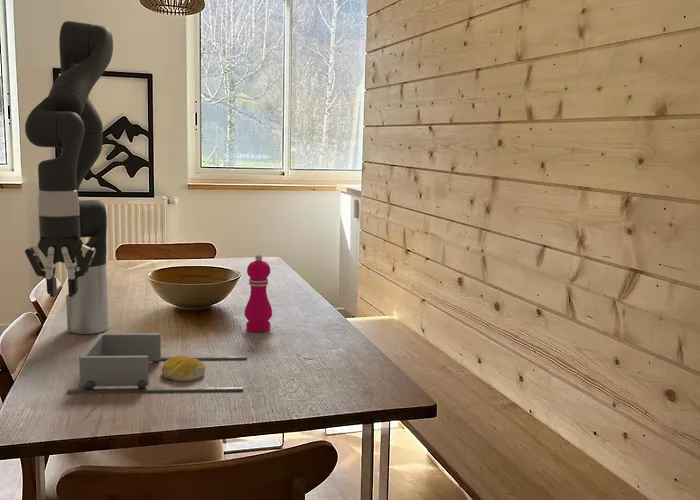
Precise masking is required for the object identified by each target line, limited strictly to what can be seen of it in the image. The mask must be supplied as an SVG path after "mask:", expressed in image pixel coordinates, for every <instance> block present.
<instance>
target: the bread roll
mask: <svg viewBox="0 0 700 500" xmlns="http://www.w3.org/2000/svg"><path fill="white" fill-rule="evenodd" d="M171 357H172V358H170V359H168V360H165V362H164V363H163V365H162V368H161V371H162V372H161V373H162V377H164V379H166V380H167V379H168V380H172V381H174V382H181V383H182V382H184V383H185V382H190V381H191V382H192V381H194V380H198V379H200V378H202V377H203V376H204V375H205V372H206V366H205V364H204V363H203V362H202V360H197V359H195V358H188V357H186V356H185V355H176V356H171Z"/></svg>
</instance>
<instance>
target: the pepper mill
mask: <svg viewBox="0 0 700 500" xmlns="http://www.w3.org/2000/svg"><path fill="white" fill-rule="evenodd" d="M254 259H255V260H253V261H251V262H250V263H249V264H248V266H247V269H246V273H247V275H248V277H249V279H248V284H249V286H250V293H249V294H250V295H249V299H248V301H247V303H246V305H245V309H244V317H245V319H246V320H248V321H246V325H245V326H246V327H245V328H246V330H247V331H248V332H250V333H265V332H269V331H270V330H271V321H270V319H271V318H272V316H273V309H272V305H271V303H270V301H269V298H268V294H267V286H268V285H269V279H268V277H269V276H270V275H271V267H270V265H269V263H268V262H266V261H264V260H263V256H262V255H261V254H256V255H255V257H254Z"/></svg>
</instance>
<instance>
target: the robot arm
mask: <svg viewBox="0 0 700 500" xmlns="http://www.w3.org/2000/svg"><path fill="white" fill-rule="evenodd" d="M58 39H59V41H58V43H59V62H60V65H59V67H60V75H59V76H57V78H56V79H55V81H54V83H53V84H52V86H51V88H50V92H49V94H48V95H47V97H45V98H44V99H42V100H41V101H40V102H39V103H38V104H37V105H36V106H35V107H34V108H33V109H32V110H31V111H30V113H29V114H28V116H27V118H26V121H25V124H24V125H25V126H24V132H25V135H26V138H27V140H28V141H29V143H30V144H33V145H34V146H36V147H40V148H60V155H59V156H58V157H55V158H49V159H46V160H41V161H40V162H39V163H38V166H37V177H38V197H37V198H38V201H37V202H38V224H39V240H38V242H37V245H35V246H30V247H28V248H25V250H24V253H25V255H26V257H27V259H28V261H29V263H30V264H31V267H32V269H33V271H34V274H35V275H36V276H37V277H41V278H42V277H43V278H44V279H45V281H46V292H47V295H49V297H50V298H55V297H56V296H57V295H58V287H57V286H58V285H57V277H56V273H57V267H58V264H59V263H63V264H64V266H65V269H66V270H67V287H68V288H67V289H68V294H66V295H65V306H66V325H67V326H66V330H67V333H73V334H77V335H93V334H100V333H103V332H105V331H107V330H108V329H109V305H108V304H109V303H108V300H109V299H108V275H107V273H108V272H107V247H108V246H107V232H108V231H107V229H108V217H107V209H106V206H105V204H104V202H103V201H101V200H99V199H86V200H83V199H81V200H79V195H78V192H79V189H80V186H81V185H82V182H83V180H84V179H85V177H86V176H87V174H88V173H89V171H90V170H91V169H92V168H93V166H94V165H95V163H96V162H97V160H98V159H99V156H100V155H101V153H102V150H103V127H104V126H103V122H102V119H101V116H100V114H99V113H98V111H97V109H96V108H95V106H94V104H93V102H92V100H91V99H90V98H89V95H90V93H91V91H92V89H93V88H94V86H95V85H96V84H97V82H98V80H99V79H100V78H101V76H102V75H103V74H104V72H105V71H106V69H107V67H108V66H109V65H110V62H111V60H112V58H113V52H114V39H113V33H112V31H111V30H110V28H108V27H106V26H103V25H100V24H92V23H87V22H78V21H72V20H67V21H64V22H62V24H61V27H60V31H59V38H58ZM83 238H89V239H88V241H87V242H86V243H85V244H84V242H83V241H82V239H83ZM41 254H43V255H44V257H45V258H46V265H44V263H43V262H42V259H41V257H40V255H41Z"/></svg>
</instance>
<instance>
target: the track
mask: <svg viewBox="0 0 700 500" xmlns="http://www.w3.org/2000/svg"><path fill="white" fill-rule="evenodd" d="M172 357H173V356H161V360H160V361H167V360H168V359H170V358H172ZM186 357H188V358H195V359H197V360H199V361H219V360H220V361H223V360H224V361H225V360H226V361H231V360H233V361H235V360H238V361H239V360H240V361H241V360H243V361H244V360H245V361H246V360H248V356H247V355H238V356H237V355H226V356H224V355H222V356H220V355H219V356H218V355H217V356H215V355H213V356H211V355H210V356H205V355H204V356H203V355H202V356H201V355H199V356H197V355H196V356H193V355H191V356H190V355H189V356H186ZM199 392H200V393H201V392H204V393H206V392H207V393H209V392H211V393H212V392H214V393H215V392H218V393H219V392H221V393H222V392H244V386H224V387H223V386H221V387H220V386H216V387H211V386H210V387H148V388H147V387H145V388H138V387H134V388H133V387H132V388H131V387H130V388H127V387H126V388H125V387H124V388H122V387H121V388H93V389H86V388H68V389H67V390H66V394H67V393H68V394H126V393H127V394H128V393H130V394H131V393H132V394H136V393H137V394H138V393H142V394H143V393H199Z"/></svg>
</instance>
